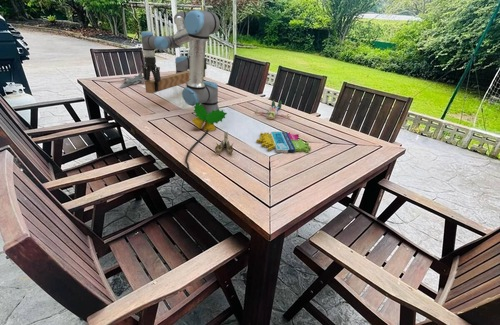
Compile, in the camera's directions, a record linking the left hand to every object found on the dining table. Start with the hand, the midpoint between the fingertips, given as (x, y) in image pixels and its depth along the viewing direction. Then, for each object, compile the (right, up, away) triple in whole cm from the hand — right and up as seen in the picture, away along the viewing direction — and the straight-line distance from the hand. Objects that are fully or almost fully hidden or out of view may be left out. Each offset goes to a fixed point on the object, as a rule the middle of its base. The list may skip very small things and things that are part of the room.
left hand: (200, 76), depth 246 cm
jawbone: (+34, -76, -108) cm, 136 cm away
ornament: (+21, -60, -81) cm, 103 cm away
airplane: (-64, -6, +4) cm, 64 cm away
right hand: (-23, -29, -56) cm, 67 cm away
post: (-12, -15, -28) cm, 34 cm away
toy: (+65, -45, -48) cm, 92 cm away
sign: (+66, -70, -94) cm, 134 cm away
